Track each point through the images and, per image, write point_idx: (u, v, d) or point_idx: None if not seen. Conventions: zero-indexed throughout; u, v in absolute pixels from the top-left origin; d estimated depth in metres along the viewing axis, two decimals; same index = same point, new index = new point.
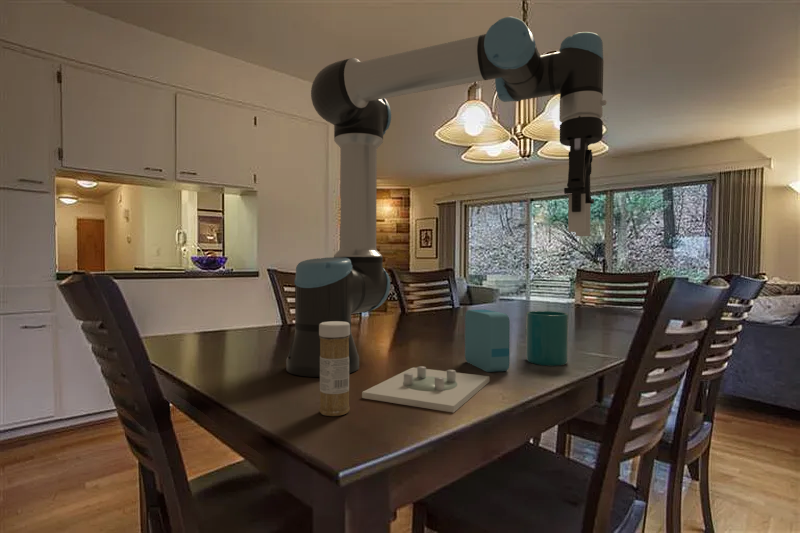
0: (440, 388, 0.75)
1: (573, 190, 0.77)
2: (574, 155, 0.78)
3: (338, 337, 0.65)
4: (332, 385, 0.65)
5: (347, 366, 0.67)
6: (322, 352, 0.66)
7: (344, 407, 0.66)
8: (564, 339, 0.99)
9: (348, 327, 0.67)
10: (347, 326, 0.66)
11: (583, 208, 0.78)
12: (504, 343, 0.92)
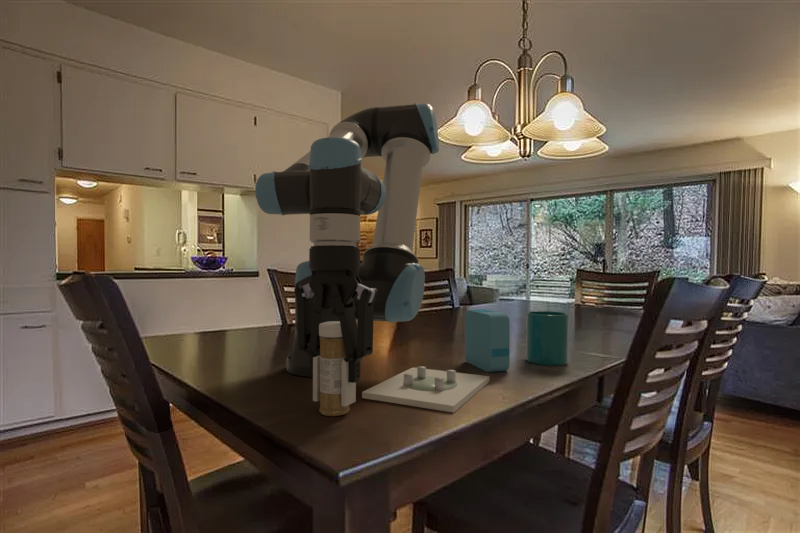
0: (440, 388, 0.75)
1: None
2: None
3: (338, 337, 0.65)
4: (332, 385, 0.65)
5: None
6: (322, 352, 0.66)
7: (344, 407, 0.66)
8: (564, 339, 0.99)
9: None
10: None
11: None
12: (504, 343, 0.92)
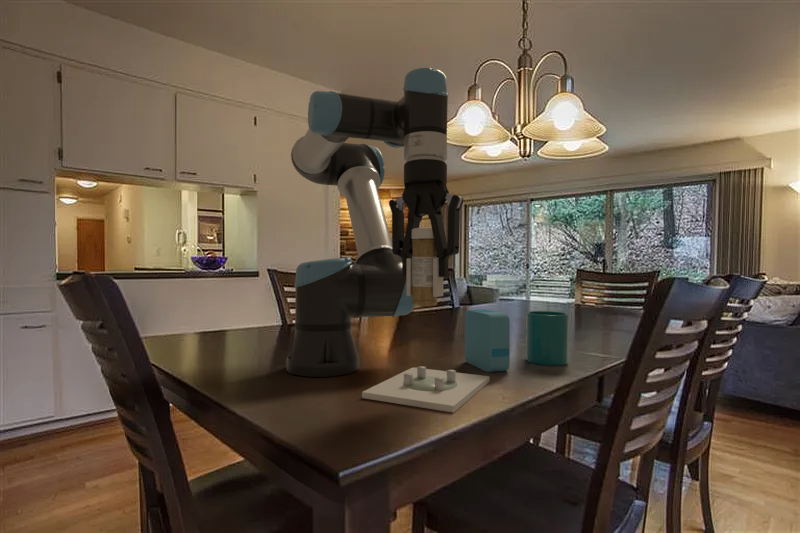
0: (440, 388, 0.75)
1: None
2: None
3: (429, 238, 0.77)
4: (425, 279, 0.77)
5: None
6: (415, 252, 0.77)
7: (434, 299, 0.77)
8: (564, 339, 0.99)
9: None
10: None
11: (407, 273, 0.79)
12: (504, 343, 0.92)
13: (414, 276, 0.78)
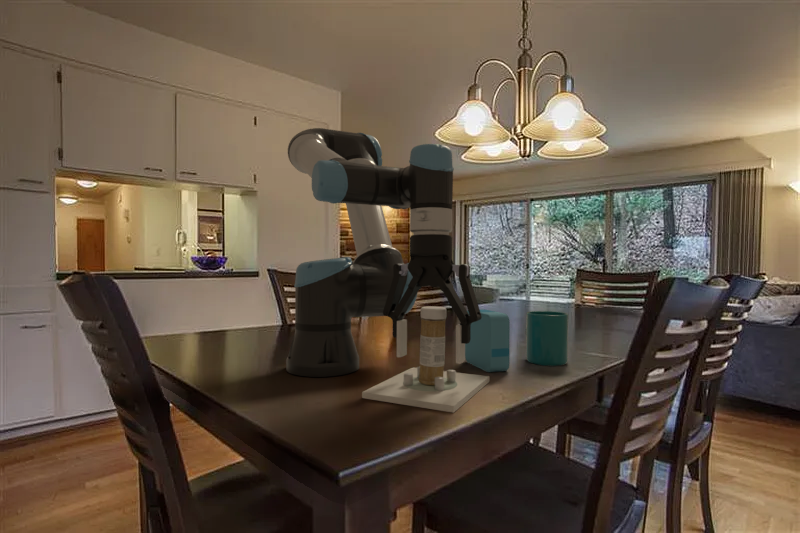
0: (440, 388, 0.75)
1: None
2: None
3: (439, 319, 0.78)
4: (433, 359, 0.78)
5: (444, 344, 0.79)
6: (424, 331, 0.78)
7: None
8: (564, 339, 0.99)
9: None
10: (445, 311, 0.79)
11: (397, 335, 0.82)
12: (504, 343, 0.92)
13: (422, 355, 0.79)
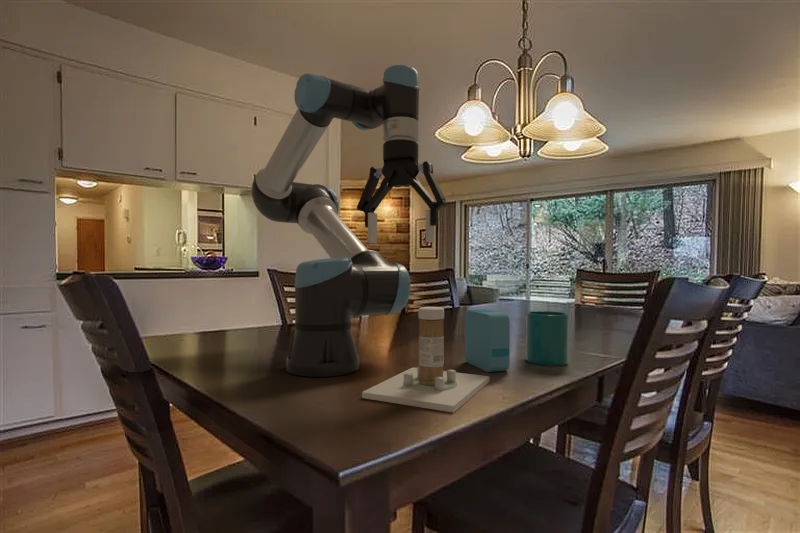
0: (440, 388, 0.75)
1: None
2: None
3: (436, 319, 0.78)
4: (432, 360, 0.78)
5: (443, 344, 0.79)
6: (422, 332, 0.78)
7: None
8: (564, 339, 0.99)
9: (443, 311, 0.79)
10: (443, 310, 0.79)
11: (368, 224, 0.98)
12: (504, 343, 0.92)
13: (421, 356, 0.79)
